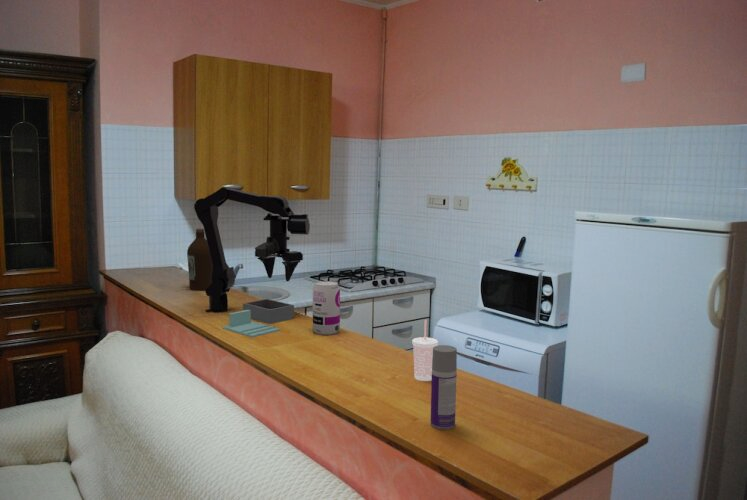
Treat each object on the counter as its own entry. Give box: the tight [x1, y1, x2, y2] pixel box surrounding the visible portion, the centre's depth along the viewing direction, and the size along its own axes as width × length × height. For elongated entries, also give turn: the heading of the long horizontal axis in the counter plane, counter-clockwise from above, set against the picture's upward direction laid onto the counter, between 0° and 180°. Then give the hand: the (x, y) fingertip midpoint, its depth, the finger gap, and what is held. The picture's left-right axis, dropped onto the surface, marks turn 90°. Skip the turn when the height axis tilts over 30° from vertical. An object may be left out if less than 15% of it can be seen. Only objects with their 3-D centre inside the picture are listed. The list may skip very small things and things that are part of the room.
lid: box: [222, 310, 281, 338], centre depth 175 cm, size 14×10×6 cm
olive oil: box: [186, 228, 213, 292], centre depth 239 cm, size 11×11×25 cm
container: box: [430, 344, 458, 431], centre depth 110 cm, size 5×5×15 cm
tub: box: [242, 298, 295, 325], centre depth 191 cm, size 14×10×5 cm
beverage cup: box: [411, 319, 439, 382], centre depth 136 cm, size 6×6×14 cm
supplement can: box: [312, 280, 341, 336], centre depth 175 cm, size 8×8×15 cm
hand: (278, 279), depth 196 cm, fingers open, 9 cm apart
